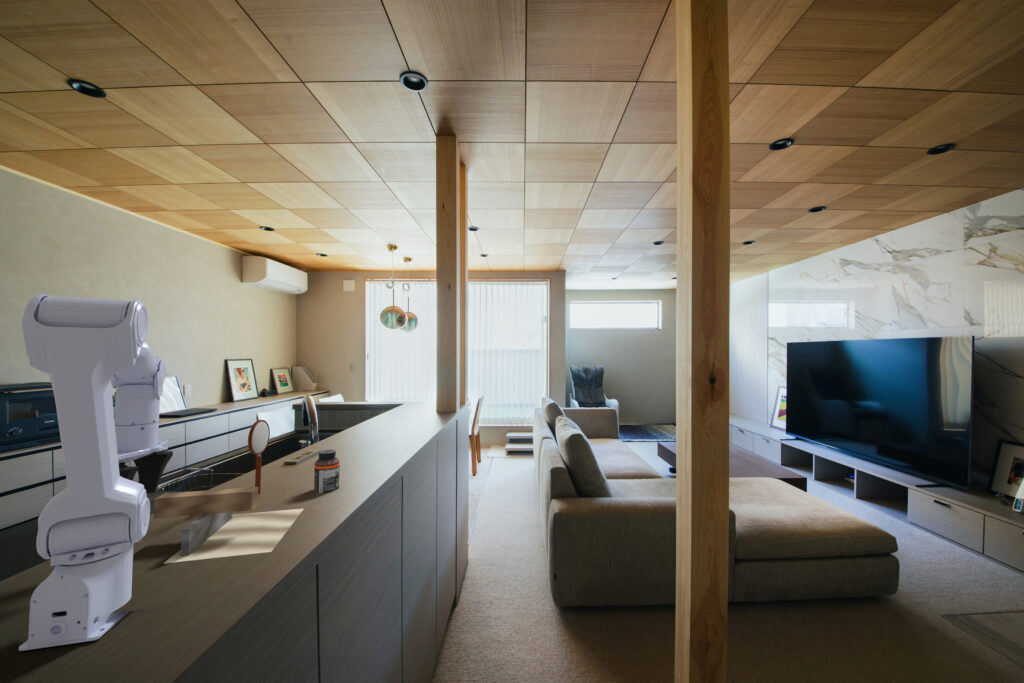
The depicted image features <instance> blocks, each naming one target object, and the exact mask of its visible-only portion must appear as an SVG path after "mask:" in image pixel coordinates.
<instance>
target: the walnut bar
mask: <svg viewBox="0 0 1024 683" xmlns="http://www.w3.org/2000/svg"><path fill="white" fill-rule="evenodd" d="M258 505H259V495H258V487H255V486H253V487H251V486H250V487H239V488H226V489H212V490H211V489H210V490H196V491H184V492H183V491H182V492H173V493H172V492H169V493H168V492H167V493H162V494H161V495H159V496H157V497H155V498H154V505H153V506H154V507H153V508H154V510H153V512H154V513H153V519H163V518H164V519H165V518H166V519H167V518H177V517H187V516H188V517H189V516H201V515H203V514H215V513H227V512H232V513H237V512H245V511H246V512H249V511H253V510H255V508H256V507H257V506H258Z"/></svg>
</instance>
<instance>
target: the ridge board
mask: <svg viewBox="0 0 1024 683" xmlns="http://www.w3.org/2000/svg"><path fill="white" fill-rule="evenodd" d="M303 511H304V508H296V509H295V508H294V509H285V510H284V509H282V510H281V509H280V510H270V511H258V512H247V513H246V512H245V513H235V514H234V513H233V512H227V513H215V514H203V515H199V516H198V517H197V518H195V519H194V520H193V521H191V522H190V523H189V524H188V525H186V526H185V527H183V528H182V529H181V533H180V534H181V536H180V537H181V538H180V540H181V541H180V549H179V550H178V551H177V552H175V554H173V555H172V556H171V557H169V558H168V559H167V560H166V561H165V562H163V564H164V565H165V564H171V563H172V564H173V563H180V562H181V563H182V562H191V561H201V560H210V559H219V558H227V557H228V558H229V557H236V556H237V557H238V556H246V555H256V554H265V553H272V551H274V549H275V548H276V547H277V545H278V544H279V543H280V541H281V539H282V538H283V537H284V536H285V534H286V533H287V532H288V530H289V529H290V528H291V526H292V525H293V524H294V522H296V520H297V518H298V517H299V516H300V515H301V514H302V512H303Z"/></svg>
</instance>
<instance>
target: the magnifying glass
mask: <svg viewBox="0 0 1024 683" xmlns="http://www.w3.org/2000/svg"><path fill="white" fill-rule="evenodd" d="M270 432H271V431H270V426H269V424H268V421H266V420H265V419H258V420H256V421H255V422H253V424H252V425H251V427H250V429H249V432H248V436H247V437H248V438H247V446H248V449H249V452H250V454H252V455H255V473H254V478H255V479H254V487H258V496H259V495H261V486H262V454H263V453H264V451H265V450H266V449H267V447H268V445H269V441H270V436H271V435H270V434H271V433H270Z"/></svg>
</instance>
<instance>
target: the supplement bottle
mask: <svg viewBox="0 0 1024 683" xmlns="http://www.w3.org/2000/svg"><path fill="white" fill-rule="evenodd" d="M336 456H337V453H336V450H335V449H323V450H320V451H318V459H317V460H316V461H315V462H314V470H313V472H314V473H313V474H314V478H313V479H314V481H313V491H314V493H318V494H325V493H332V492H334V491H337V490H339V489H340V459H339V458H338V457H336Z"/></svg>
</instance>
